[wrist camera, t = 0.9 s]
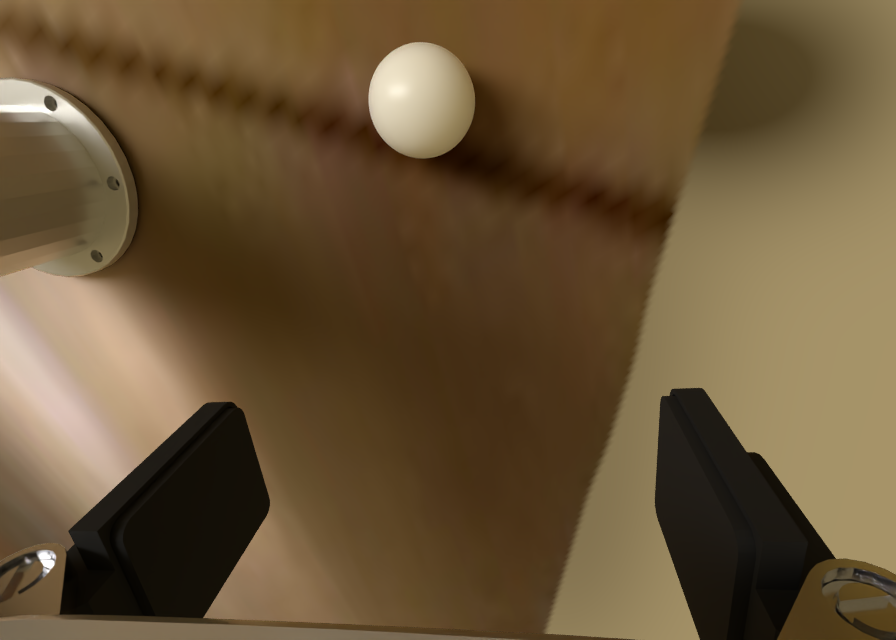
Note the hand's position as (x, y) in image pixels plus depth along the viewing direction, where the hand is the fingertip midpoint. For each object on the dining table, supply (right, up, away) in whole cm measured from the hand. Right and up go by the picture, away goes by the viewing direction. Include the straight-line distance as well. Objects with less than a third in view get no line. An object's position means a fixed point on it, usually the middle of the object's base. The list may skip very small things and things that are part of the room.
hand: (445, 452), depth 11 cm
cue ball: (-1, +14, +15) cm, 21 cm away
